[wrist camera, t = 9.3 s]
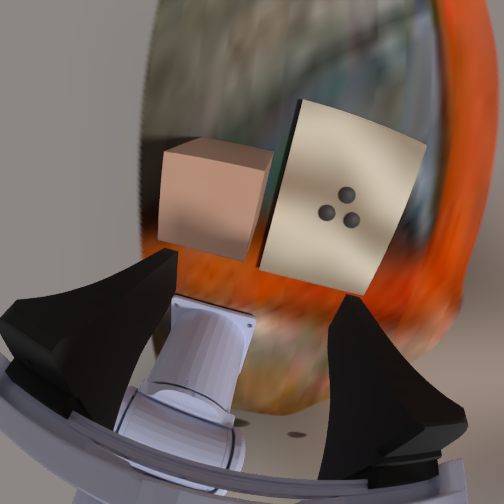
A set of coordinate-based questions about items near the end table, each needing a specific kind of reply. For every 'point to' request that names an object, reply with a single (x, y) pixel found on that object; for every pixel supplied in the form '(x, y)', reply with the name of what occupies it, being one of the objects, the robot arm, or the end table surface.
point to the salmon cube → (212, 195)
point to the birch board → (339, 198)
